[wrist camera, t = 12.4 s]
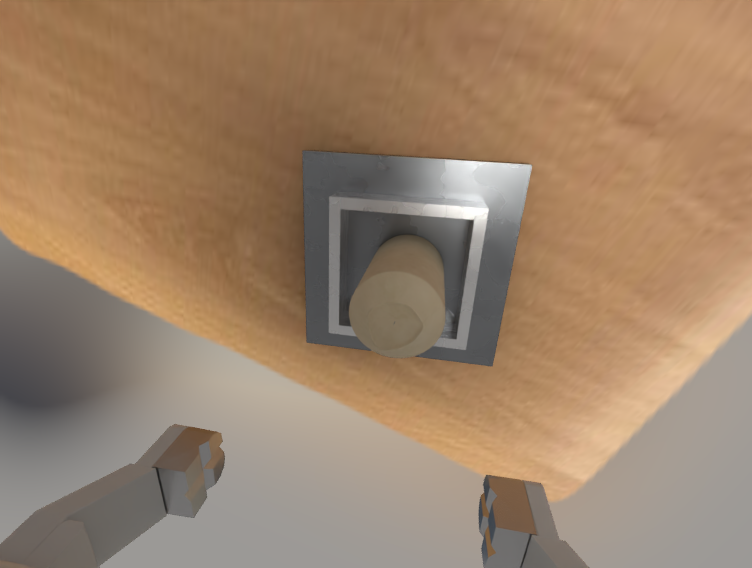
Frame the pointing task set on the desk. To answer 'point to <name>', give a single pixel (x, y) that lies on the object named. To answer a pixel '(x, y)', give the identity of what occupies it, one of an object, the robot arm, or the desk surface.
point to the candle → (400, 298)
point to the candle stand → (414, 217)
